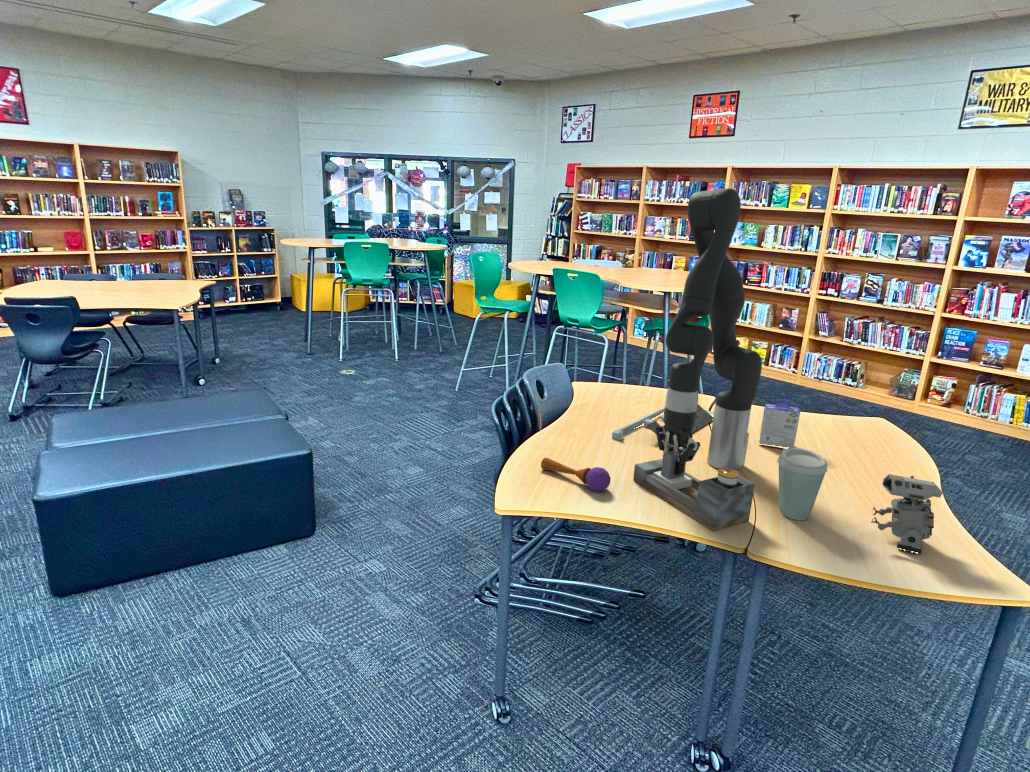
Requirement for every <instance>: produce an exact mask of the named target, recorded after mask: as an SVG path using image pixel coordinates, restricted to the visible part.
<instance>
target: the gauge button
mask: <svg viewBox="0 0 1030 772" xmlns="http://www.w3.org/2000/svg"><path fill="white" fill-rule="evenodd" d="M739 475H740V473H739V471H738V470H734V469H730V468H721V469H718V472H717V477H718V478H717V484H719V485H721V486H723V487H725V488H727V489H730V488H734V487H737V485H738V479H739Z"/></svg>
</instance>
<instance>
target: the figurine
mask: <svg viewBox="0 0 1030 772" xmlns="http://www.w3.org/2000/svg"><path fill="white" fill-rule="evenodd" d="M914 477H915V476H914V475H911V476H910V477H909V476H908V477H907V476H906V477H905V476H903V475H897V474H891V473H888V474H887V475H886V476H885V477H884V478H883V480H882V486H883V488H884V489H885V490H886V491H887V493H889V494H890V495H891V496H897V497H899V498H894V499H892V500H891V502H890V503H891V504H890V505H891V506H886V507H885V508H884V509H883V508H880V509H879V510H877V509H876V507H873V508H872V510H874V513H872V515H873V516H875V515H877V514H879V515H880V516H885V514H891V520H888V521H886V522H884V523H883V522H882V523H880V522H879V521H878V519H877V517H876V516H875V517H874V518H872V520H871V522H870V523H872V524H873V523H874V524H875V523H876V524H877V528H878V529H879V530H880V531H884V530H885V529H889V528H891V533H892V534H891V535H893V536H896V537H898V538H900V540H899V541H898V542H897V545H896V548H901V549H905V550H909V551H914V552H918V553H921V554H922V543H923V542H922V541H924V540H927V539H930V538H931V536H932V535H933V529H934V527H935V525H934V524H935V520H934V519H935V513H934V512H933V511H932V508H931V507H932V500H931V499H930V498H933V497H935V498H941V497H942V495H943V491H942V489H940V487H939V486H938V485H937V483H935V482H934V481H929V480H925V479H920V478H914ZM901 497H902V498H901ZM873 520H875V521H873ZM909 551H908V552H909Z"/></svg>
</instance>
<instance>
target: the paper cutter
mask: <svg viewBox="0 0 1030 772" xmlns="http://www.w3.org/2000/svg"><path fill="white" fill-rule="evenodd" d="M664 410H665V406H663V407H661V408H659V409H657V410H654V411H653V412H650V413H647V414H646V415H645V416H643V417H641V418H638V419H637V420H634V421H632V422H630V423H628V424H626V425H624V426H622V427H620V428H618V429H615V430H614V431H612V433H611V439H614V440H616V441H620V442H622V440H623V438H624V437H625V436H627V435H629V434H631V433H633V432H636V431H637V430H638V429H637V428H636V427H638V426H640V425H642V424H643V423H644V427H643V428H647V427H648V429H650V430H651V431H652V432H653V433H654V434H655V435H656V436H657V434H656V427H659V426H661V424H659V423H658V421H657V420H655V421H654V420H651V419H652V418H654V417H656V416H658V415H660V414H661V413H663V412H664ZM710 414H711V415H712V414H713V415H714V411H713V410H707V409H704V408H703V407H702V406H701V405H700V404H698V405H697V413H696V420H695V426H694V427H693V429H692V434H693V433H694V432H696V431H698V430H700V429H701V428H702V427H704V426H705V425H706V426H707V425H708V424H709V423H711V422H713V420H712V419H713V417H712V416H711V415H710ZM660 419H662V420H663V419H664V415H662V416H660V418H659V420H660ZM662 420H661V421H662ZM634 428H635V429H634ZM662 442H664V440H662Z"/></svg>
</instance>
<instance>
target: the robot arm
mask: <svg viewBox="0 0 1030 772" xmlns="http://www.w3.org/2000/svg"><path fill="white" fill-rule="evenodd" d="M741 209H742V204H741V198H740V195H739V194H738V191H736V190H735V189H734V188H718V189H709V190H708V189H707V190H701V191H700V190H699V191H696V192H694V193H692V195H691V196H690V197H689V199H688V203H687V217H688V223H689V227H690V231H691V234H692V238H693V241H694V245H695V249H696V252H697V256H698V260H697V261H696V262H695V264H694V265H693V267H692V268H691V269H690V270H689V273H688V275H687V277H686V280H685V284H684V289H683V293H682V297H681V302H680V305H679V308H678V311H677V313H676V315H675V317H674V319H673V321H672V323H671V324H670V327H669V328H668V331H667V333H666V335H665V345H666V348H667V349H668V351H670V352H671V353H674V354H681V355H689V356H693V359H692V360H691V361H686V362H683V361H682V362H675V363H673V364H672V365H671V367H670V370H669V379H668V386H667V392H666V394H665V395H666V396H665V402H664V407H665V410H664V419H663V421H662V422H663V424H664V425H660V426H659V427H656V434H657V435H656V434H655V435H656V439H657V445H658V450H659V451H662V452H663V453H665V452H670V451H674V452H676V461H675V468H674V474H675V475H676V476H678V475H681V474H682V473H683V472H684V465H685V462H686V463H688V462H691V461H693V459H694V457H695V455H696V454H697V452H698V450H699V449H700V447H701V442H699V441H697V442H696V441H695V440H694V439H693V433H692V429H693V427H694V426H695V420H696V413H697V405H699V390H700V389H699V388H700V381H701V374H702V371H703V368H704V365H705V361H706V359H707V357H708V355H709V353H710V351H711V349H712V351H713V352H712V355H713V357H712V358H713V365H714V369H715V372H716V373H717V375H718V376H720V377H721V378H723V379H726V380H728V381H731V382H732V383H731V387H730V390H725V391H720V392H718V393H717V394H716V396H715V404H714V411H713V412H714V417H713V420H712V423H711V424H712V425H711V431H710V432H711V433H710V437H709V446H708V453H707V464H708V465H709V466H711V467H714V468H715V469H718V470H719V469H721V468H730V469H734V470H736V471H738V470H737V469H739V470H740V469H741V468H742V467H743V466H745V462H746V457H747V451H748V444H749V437H750V433H749V432H748V429H749V423H750V417H751V410H752V405H753V402H754V401H755V398H756V396H757V393H758V392H757V391H758V388H759V383H760V378H761V374H762V370H763V369H762V368H763V367H762V366H763V360H762V356H761V354H759V353H758V352H757V351H755V350H751V349H748V348H746V347H741V346H739V344H738V340H737V335H736V325H737V322H738V319H740V316H741V313H742V311H743V310H744V309H743V308H744V306H745V302H746V295H745V290H744V284H743V283H744V281H743V277H742V274H741V272H740V271H739V269H738V268H737V266H736V265H735V264H734V263H733V261H732V260H731V259H730V258H729V257H728V256H727V254H728V251H729V249H730V246H731V242H732V239H733V237H734V235H735V231H736V229H737V226H738V224H739V219H740V216H741ZM707 316H708V318H709V323H710V327H707V326H704V325H695V324H689V323H688V322H689V321H690V320H691V319H695V318H703V317H707ZM687 323H688V324H687ZM662 440H664V441H662ZM663 453H662V454H663ZM681 453H682V456H681ZM742 465H743V466H742Z"/></svg>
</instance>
